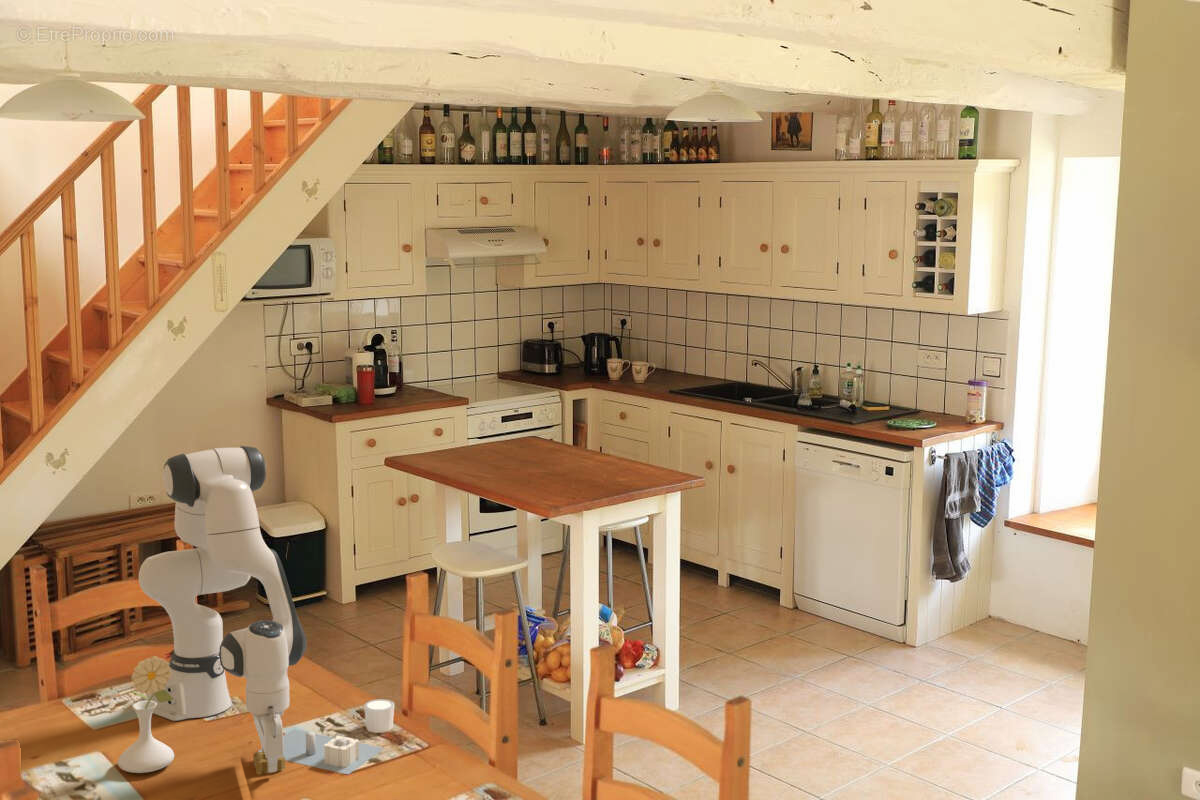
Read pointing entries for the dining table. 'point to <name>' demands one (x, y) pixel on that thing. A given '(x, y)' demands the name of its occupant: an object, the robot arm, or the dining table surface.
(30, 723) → the dining table surface
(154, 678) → the flower in vase
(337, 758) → the white gear
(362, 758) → the board
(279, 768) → the gear
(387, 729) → the white cup
